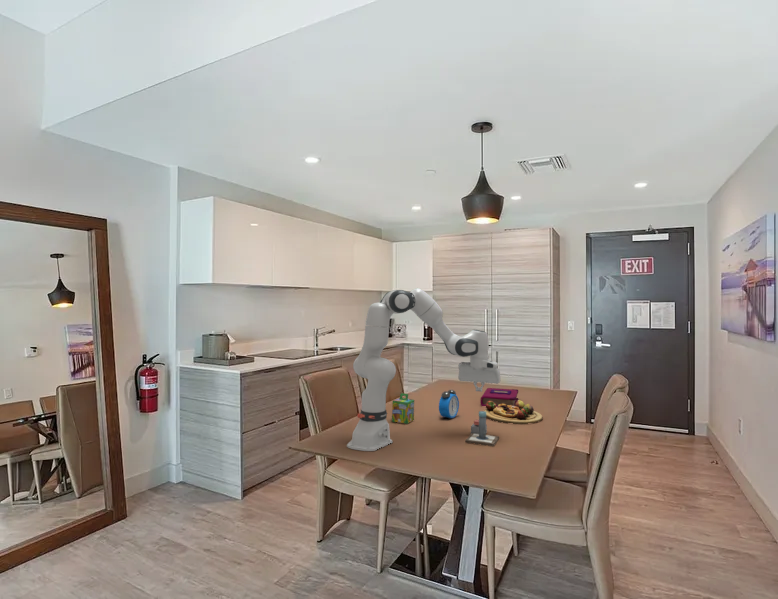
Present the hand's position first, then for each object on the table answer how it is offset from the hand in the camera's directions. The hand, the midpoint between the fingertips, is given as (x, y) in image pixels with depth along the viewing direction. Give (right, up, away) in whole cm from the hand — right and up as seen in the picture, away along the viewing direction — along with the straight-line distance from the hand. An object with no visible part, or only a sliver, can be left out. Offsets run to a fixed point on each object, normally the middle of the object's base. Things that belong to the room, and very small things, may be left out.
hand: (479, 391), depth 227 cm
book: (+27, -21, +68) cm, 76 cm away
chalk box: (-36, -21, +22) cm, 47 cm away
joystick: (-1, -19, -11) cm, 22 cm away
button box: (0, -21, 0) cm, 21 cm away
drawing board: (-1, -21, -11) cm, 24 cm away
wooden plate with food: (+25, -22, +33) cm, 47 cm away
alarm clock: (-11, -21, +30) cm, 38 cm away
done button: (0, -18, 0) cm, 18 cm away
